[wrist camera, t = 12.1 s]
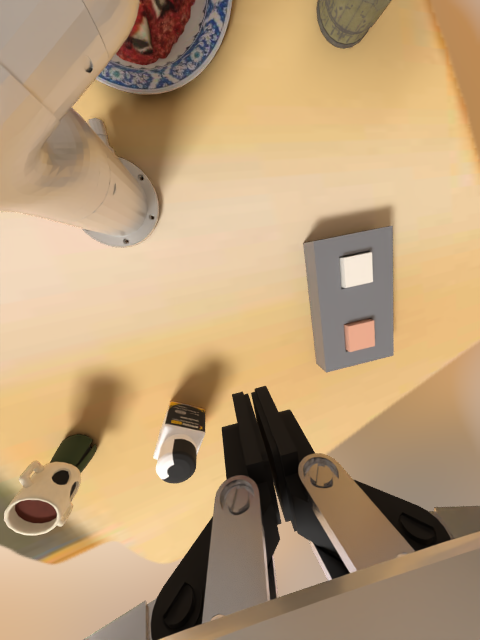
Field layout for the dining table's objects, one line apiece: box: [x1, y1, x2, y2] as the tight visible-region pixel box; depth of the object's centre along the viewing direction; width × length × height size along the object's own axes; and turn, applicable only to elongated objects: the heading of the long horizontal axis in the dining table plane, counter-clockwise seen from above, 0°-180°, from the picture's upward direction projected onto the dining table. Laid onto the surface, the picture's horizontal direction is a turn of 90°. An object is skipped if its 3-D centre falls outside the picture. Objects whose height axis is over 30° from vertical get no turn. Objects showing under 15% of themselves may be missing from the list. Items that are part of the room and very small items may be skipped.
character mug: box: [4, 434, 96, 535], centre depth 39 cm, size 11×7×13 cm, turn 20°
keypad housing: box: [303, 226, 393, 372], centre depth 43 cm, size 24×14×4 cm, turn 11°
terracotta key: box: [344, 318, 375, 352], centre depth 44 cm, size 5×5×3 cm
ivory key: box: [339, 252, 373, 288], centre depth 40 cm, size 5×5×3 cm
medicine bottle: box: [153, 401, 205, 483], centre depth 41 cm, size 7×7×12 cm
